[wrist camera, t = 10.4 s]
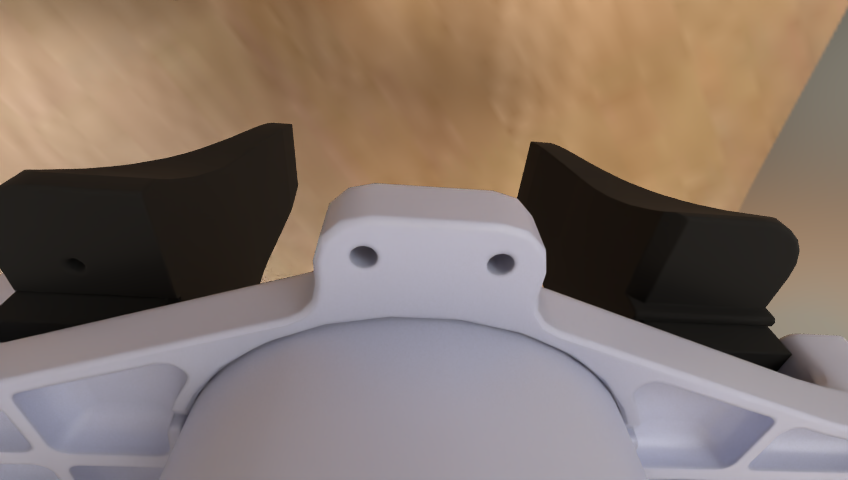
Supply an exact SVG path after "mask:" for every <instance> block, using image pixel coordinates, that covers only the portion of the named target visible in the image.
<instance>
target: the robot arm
mask: <svg viewBox="0 0 848 480" xmlns="http://www.w3.org/2000/svg"><path fill="white" fill-rule="evenodd" d="M297 188H298V180H297V170H296V159H295V149H294V139H293V129H292V124H282V123H267V124H263V125H260V126H258V127H255V128H252V129H250V130H248V131H245V132H243V133H240V134H238V135H236V136H233V137H231V138H228V139H226V140H223V141H220V142H218V143H215V144H212V145H210V146H207V147H204V148H201V149H198V150H195V151H192V152H188V153H185V154H181V155H177V156H173V157H169V158H164V159H159V160H153V161H147V162H142V163H136V164H129V165H121V166H112V167H100V168H87V169H53V170H24V171H22V172H20V173H19V174H17V175H16V176H14V177H13V178H11V179H9V180H8V181H6V182H5V183H3V184H1V185H0V269H1V270H2V272H3V273H2V274H1V275H0V480H848V341H847V340H846V339H845V338H844V337H842V336H837V335H836V336H835V335H815V334H791V335H787V336H784V337H782V338H780V339H778V338H777V337H776V336H775V334H774V333H773V332H772V331H771V330H770V329H769V328H768V326H772V325H773V324H774V323H775V318H774V317H773V316H772V315H771V313H770V312H769V311H768V310H767V309H766V306H767V305H768V304H769V302H770V301H771V300H772V298H773V297H774V296H775V294H776V293H777V292H778V291H779V289H780V288H781V286H782V285H783V284H784V283H785V281H786V280H787V279H788V277H789V276H790V274H791V272H792V271H793V269H794V267H795V265H796V263H797V259H798V255H799V245H798V239H797V238H796V237H795V235H794V234H793V233H792V231H791V230H790V229H789V228H787V227H786V226H785V225H784V224H782V223H781V222H780V221H778V220H777V219H776V218H773V217H767V216H759V215H753V214H745V213H739V212H732V211H726V210H721V209H716V208H711V207H706V206H702V205H697V204H693V203H689V202H685V201H681V200H678V199H675V198H671V197H668V196H664V195H661V194H658V193H655V192H652V191H649V190H647V189H644V188H642V187H639V186H637V185H634V184H631V183H629V182H627V181H624V180H622V179H620V178H618V177H616V176H614V175H612V174H610V173H608V172H606V171H604V170H602V169H600V168H598V167H596V166H594V165H593V164H591V163H589V162H587V161H585V160H584V159H582V158H580V157H578V156H577V155H575V154H573V153H571V152H569V151H568V150H566V149H564V148H562V147H560V146H558V145H555V144H552V143H542V142H531V143H530V147H529V151H528V155H527V160H526V164H525V168H524V172H523V176H522V180H521V184H520V188H519V193H518V197H517V198H514V197H511V196H508V195H505V194H502V193H498V192H495V191H489V190H473V189H458V188H443V187H427V186H412V185H397V184H381V183H374V184H368V185H362V186H356V187H350V188H348V189H346V190H345V191H344V192H343V193H341V194H340V195H339V196H338V197H337V198H335V199H334V200H333V201H332V202H331V203H329V206H328V210H327V213H326V216H325V220H324V223H323V226H322V229H321V233H320V236H319V240H318V243H317V247H316V251H315V254H314V258H313V265H314V271H313V272H309V273H305V274H300V275H296V276H292V277H287V278H283V279H279V280H274V281H270V282H266V283H261V284H260V282H261V279H262V276H263V272H264V270H265V267H266V265H267V262H268V260H269V258H270V255H271V253H272V251H273V249H274V247H275V245H276V243H277V241H278V238H279V236H280V234H281V232H282V230H283V228H284V226H285V223H286V221H287V219H288V217H289V215H290V212H291V210H292V207H293V203H294V200H295V196H296V192H297ZM542 284H543V287H544V288H543V287H542Z"/></svg>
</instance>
